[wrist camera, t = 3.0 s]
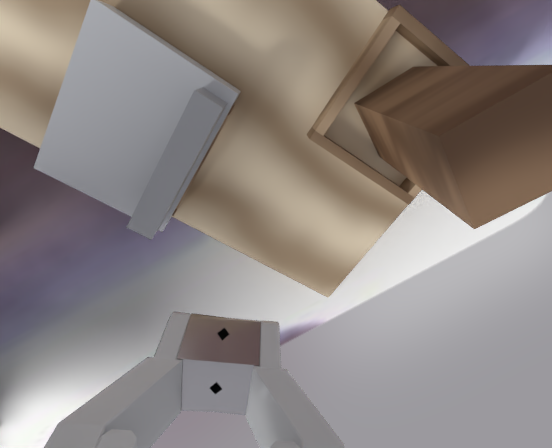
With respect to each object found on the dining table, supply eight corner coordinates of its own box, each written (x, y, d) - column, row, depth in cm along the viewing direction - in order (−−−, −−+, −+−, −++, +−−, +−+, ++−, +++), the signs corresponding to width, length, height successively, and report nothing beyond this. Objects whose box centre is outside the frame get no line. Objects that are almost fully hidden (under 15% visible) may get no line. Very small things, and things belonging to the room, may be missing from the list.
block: (435, 124, 21) (585, 173, 11) (379, 156, 22) (474, 229, 12) (413, 66, 20) (565, 64, 10) (353, 103, 21) (439, 135, 11)
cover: (172, 216, 23) (150, 251, 19) (57, 157, 21) (3, 180, 17) (240, 91, 20) (234, 97, 15) (113, 6, 18) (63, -14, 13)
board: (323, 279, 29) (331, 309, 26) (-95, 57, 21) (-170, 55, 17) (474, 98, 23) (513, 103, 19) (-36, -329, 14) (-134, -460, 11)
